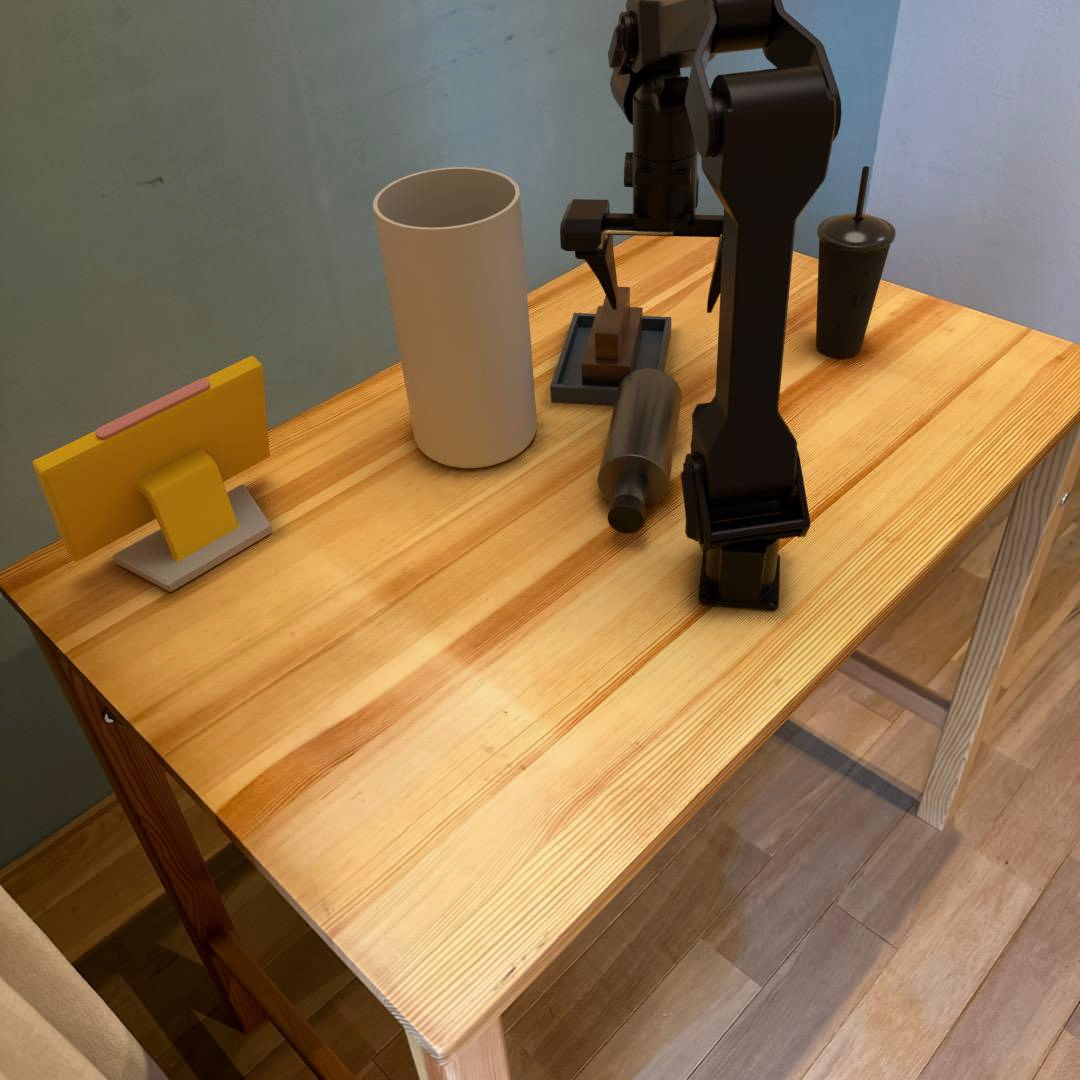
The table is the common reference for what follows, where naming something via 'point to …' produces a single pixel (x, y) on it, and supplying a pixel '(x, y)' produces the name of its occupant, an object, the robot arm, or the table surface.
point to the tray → (570, 362)
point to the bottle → (639, 447)
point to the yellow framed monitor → (166, 478)
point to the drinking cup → (849, 276)
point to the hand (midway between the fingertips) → (661, 309)
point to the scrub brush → (613, 342)
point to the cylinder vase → (460, 312)
